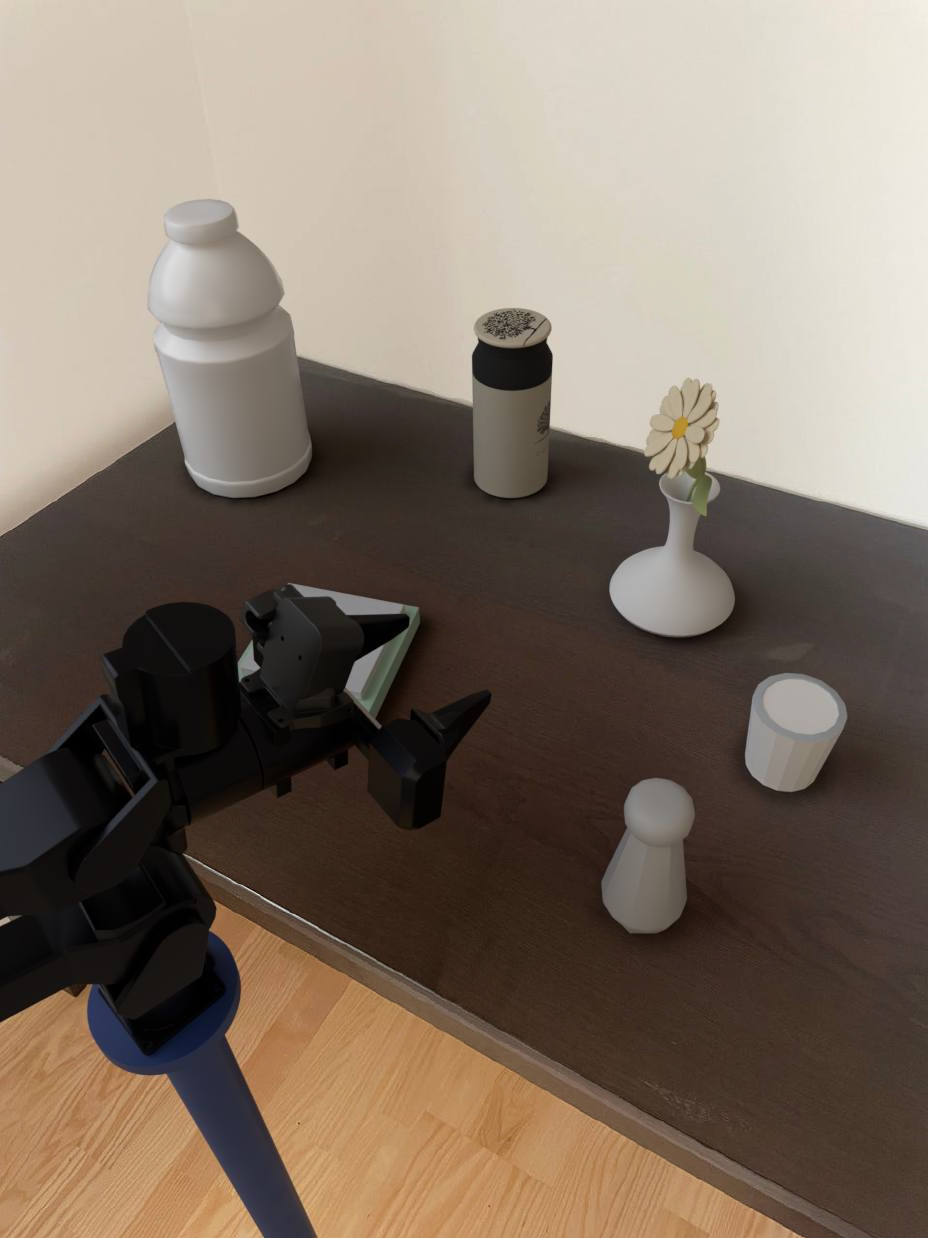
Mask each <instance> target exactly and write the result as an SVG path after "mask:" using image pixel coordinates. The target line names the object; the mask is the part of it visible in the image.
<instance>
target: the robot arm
mask: <svg viewBox="0 0 928 1238" xmlns="http://www.w3.org/2000/svg"><path fill="white" fill-rule="evenodd" d="M287 584H288V583H287ZM287 584H285V585H284V586H282V588H276V589H275V588H274V589H273V588H272V589H268V590H266V591H263V592H262V593H259V594H257V595H255V596H252V597H250V598H249V599H246V600H244V601H243V604H242V607H241V611H240V614H239V618H238V620H239V622H240V623H241V624H242V625H243V626H244V628H245V629H246V630H247V631H248V632H249V633H250V634H251V637H252V638H251V641H252V640H253V655H254V661H255V662H256V663H257V665H258V666H259V667H260V668H259V669H258V670H257V671H255V672H254V673H252V674H250V675H247V676H245V677H243V678H242V679H241V682H239V672H238V661H239V659H238V649H237V635H236V627H235V625H234V623H233V620H232V619H231V618H230V617H229V616H228V615H227V613H225V612H224V611H222V610H221V609H219V608H217V607H215V606H212V605H210V604H206V603H201V602H196V601H178V602H177V601H176V602H175V601H174V602H167V603H165V604H159V605H156V606H154V607H151V608H149V609H147V610H145V614H143V615H142V616H140V617H138V618H137V619H136V620H134V621H133V622H132V623H131V624H130V625H129V626H128V628H127V629H126V631H125V633H124V634H123V637H122V643H121V647H118V648H116V649H113V650H110V651H107V652H105V653H103V654H102V655H101V656H100V658H99V660H100V666H101V670H102V674H103V677H104V679H105V680H106V682H107V684H108V686H109V691H110V694H107V693H103V694H101V695H99V696H97V698H96V699H95V700H94V701H92V703H90V705H89V706H88V707H87V708H86V709H85V710H84V712H80V713H79V715H78V716H77V718H75V721H74V722H73V723H72V724H71V726H69V727H68V728H67V729H66V731H64V733H63V734H62V735H61V736H60V737H59V738H58V739H57V740H55V742H54V743H53V744H52V745H51V746H50V747H49V748H48V749H47V751H45V753H44V754H43V755H41V756H40V757H39V758H37V759H35V760H34V761H32V762H31V763H30V764H29V763H28V764H27V766H25V767H23V768H21V770H19V771H17V772H16V773H15V774H13V775H11V776H10V777H8V778H7V779H5V780H4V781H2V782H1V783H0V921H1V920H4V919H5V918H9V917H16V918H14V919H12V920H9V921H8V922H5V923H3V924H1V925H0V1023H3V1022H5V1021H6V1020H8V1019H10V1018H12V1017H14V1016H16V1015H18V1014H20V1013H22V1012H23V1011H25V1010H27V1009H29V1008H31V1007H33V1006H35V1005H36V1004H39V1003H41V1002H42V1001H44V1000H46V999H48V998H50V997H52V996H54V995H56V994H58V993H59V992H61V991H63V990H65V989H67V988H69V987H72V986H75V985H92V984H97V985H98V986H99V988H98V993H99V995H100V996H101V998H102V999H103V1000H104V1002H105V1003H106V1004H107V1006H108V1007H109V1008H110V1010H111V1011H112V1013H113V1014H114V1015H115V1017H116V1018H117V1019H118V1021H119V1022H120V1023H121V1025H122V1026H123V1028H124V1029H125V1030H126V1032H127V1033H128V1034H129V1036H130V1037H131V1038H132V1040H133V1041H134V1043H135V1044H136V1045H137V1047H138V1048H139V1049H140V1051H141V1052H142V1053H143V1054H144V1055H146V1056H149V1055H152V1054H153V1053H155V1052H156V1051H157V1050H158V1049H159V1048H161V1047H162V1046H163V1045H164V1044H165V1043H167V1042H168V1041H169V1040H170V1039H172V1038H173V1037H174V1036H175V1035H176V1034H178V1033H179V1032H180V1031H181V1030H182V1029H184V1028H185V1027H186V1026H187V1025H188V1024H190V1023H191V1022H192V1021H193V1020H195V1019H196V1018H197V1017H198V1016H199V1015H201V1014H202V1013H203V1012H204V1011H205V1010H207V1009H208V1008H209V1007H210V1006H211V1005H213V1004H214V1003H215V1002H216V1001H218V1000H219V999H220V998H221V997H222V996H223V995H224V994H225V992H226V987H225V985H224V983H223V982H222V981H221V980H220V978H219V977H218V976H217V975H216V974H215V972H214V971H213V970H212V968H214V967H215V964H216V961H215V958H214V956H213V954H212V951H211V949H210V947H209V944H208V938H209V931H210V929H211V928H212V925H213V924H214V922H215V920H216V917H217V906H216V903H215V901H214V899H213V897H212V896H211V894H210V893H209V891H208V890H207V888H206V887H205V885H204V884H203V882H202V881H201V879H200V878H199V876H198V874H197V873H196V872H195V870H194V868H193V867H192V865H191V864H190V862H189V861H188V859H187V858H186V856H185V855H184V853H186V851H188V840H187V839H188V838H187V833H186V828H187V827H190V826H191V825H194V824H195V823H198V822H200V821H202V820H205V819H206V818H208V817H211V816H213V815H214V814H217V813H219V812H220V811H223V810H225V809H227V808H229V807H231V806H233V805H236V804H238V803H240V802H242V801H244V800H246V799H248V798H251V797H252V796H255V795H256V794H259V793H261V792H262V791H265V790H267V789H269V790H270V792H272V794H273V795H274V796H275V798H277V799H279V798H281V797H283V796H286V795H288V794H289V793H292V789H293V788H292V777H295V776H296V775H299V774H301V773H303V772H305V771H307V770H310V769H311V768H314V767H315V766H318V765H320V764H323V763H324V762H327V764H328V765H330V767H331V768H332V769H333V770H334V771H336V770H338V769H341V768H343V767H345V766H346V765H349V750H351V749H353V748H354V747H356V748H357V749H358V750H359V752H360V753H361V754H362V755H363V756H364V757H365V758H366V760H367V761H368V765H367V766H368V767H367V788H366V789H367V790H366V791H367V793H368V794H369V796H371V797H372V798H373V800H374V801H375V802H376V803H377V804H378V806H379V807H380V808H381V809H382V810H383V811H384V813H385V814H386V815H387V816H388V817H389V818H390V819H391V821H392V822H393V823H394V824H395V825H396V826H397V827H398V828H399V829H403V830H407V831H415V830H420V829H422V828H423V827H426V826H427V825H429V824H431V823H433V822H434V821H437V820H438V819H440V818H441V817H442V810H443V809H442V808H443V800H444V790H445V782H446V773H447V764H448V761H449V760H450V757H452V754H453V753H454V751H455V750H456V749H457V747H458V746H459V745H460V743H461V742H462V741H463V740H464V738H465V737H466V736H467V734H468V733H469V732H470V730H471V729H472V728H473V726H474V725H475V723H477V721H478V720H479V718H480V717H481V716H482V715H483V713H484V712H485V711H486V709H487V708H488V706H489V705H490V704H491V701H492V691H490V690H489V689H488V688H485V689H483V690H480V691H476V692H473V693H471V694H468V695H465V696H464V697H462V698H460V699H458V700H455V701H453V702H451V703H449V704H447V705H445V706H442V707H441V708H439V709H436V710H433V711H432V712H425V711H423V710H420V709H418V708H415V707H412V708H410V712H409V713H410V714H409V719H408V718H407V719H406V718H402V717H401V718H400V717H397V718H394V719H393V720H390V721H388V722H386V723H384V724H380V723H379V721H378V720H377V719H376V718H374V717H373V716H372V715H371V714H370V713H369V712H368V711H367V710H366V709H365V708H364V707H363V706H362V704H361V703H360V702H359V701H358V700H357V699H356V698H355V697H354V696H353V695H352V694H351V693H350V692H349V691H348V690H347V688H346V684H347V681H348V679H349V676H350V673H351V671H352V668H353V665H354V663H355V661H357V660H359V659H361V658H362V657H364V656H366V655H367V654H369V653H371V652H372V651H374V650H376V649H377V648H379V647H381V646H382V645H384V644H386V643H387V642H389V641H391V640H392V639H394V638H395V637H396V636H398V635H399V634H400V633H402V632H403V631H405V630H406V629H407V628H408V627H409V623H410V617H409V616H408V615H407V614H369V615H346V614H345V613H344V612H343V611H342V610H341V609H340V608H339V607H338V606H337V605H336V601H335V600H334V599H332V598H331V597H329V596H321V597H304V596H303V595H302V594H301V593H300V592H299V591H298V590H297V589H296V588H295V587H294V586H293V585H291V584H288V585H287ZM104 751H106V753H107V754H108V756H109V758H110V759H111V761H112V763H113V764H114V765H115V767H114V766H113V764H112V763H111V761H109V759H108V758H107V757H106V756H105V754H103V753H104ZM115 768H117V770H118V771H119V774H120V775H121V777H122V778H123V779H124V781H125V782H126V784H127V785H128V787H129V788H130V790H131V792H132V793H133V796H132V794H131V792H130V791H129V789H128V788H127V786H126V785H125V783H124V781H123V780H122V778H121V777H120V775H119V774H118V772H117V771H116V769H115ZM217 988H221V990H220V991H219V992H215V990H216V989H217ZM149 1044H151V1045H152V1046H151V1048H150V1049H148V1050H146V1049H145V1048H146V1046H147V1045H149Z"/></svg>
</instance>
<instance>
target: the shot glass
mask: <svg viewBox="0 0 928 1238" xmlns="http://www.w3.org/2000/svg"><path fill="white" fill-rule="evenodd" d="M848 717H849V716H848V712H847V706H846V703H845V702H844V700H843V699H842V698H841V696H840V695H839V693H838V692H837V691H836V690H835V689H834V688H832V687H831V686H829V685H828V683H825V682H824V681H823V680H821V679H818V678H815V677H812V676H809V675H807V674H805V673H794V672H793V673H791V672H784V673H783V672H782V673H779V674H774V675H770V676H768V677H766V679H763V681H761V682H760V683H758V684H757V686H756V688H755V690H754V692H753V694H752V700H751V707H750V714H749V720H748V721H749V722H748V729H747V736H746V743H745V751H744V759H745V760H744V761H745V766H746V768H747V770H748V772H749V773H750V775H751V777H752V778H754V779H755V780H756V781H758V782H759V783H760V784H761V785H762V786H765V787H767V788H769V789H772V790H774V791H776V792H785V793H794V792H798V791H802V790H805V789H806V788H808V787H809V786H810V785H811V784H813V783H814V782H815V780H816V778H817V777H818V775H819V773H820V771H821V770H822V769H823V766H824V764H825V762H826V760H827V758H828V757H829V755H830V753H831V751H832V750H833V748H834V746H835V744H836V743H837V741H838V739H839V738H840V735H841V733H842V732H843V730H844V727H845V725H846V723H847V720H848Z"/></svg>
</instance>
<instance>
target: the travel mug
mask: <svg viewBox="0 0 928 1238" xmlns="http://www.w3.org/2000/svg"><path fill="white" fill-rule="evenodd" d="M552 330H553V329H552V323H551V321H550V320H549V319H548V318H547V317H546V316H545V315H544V314H542V313H540V312H539V311H535V310H532V309H528V308H527V309H526V308H522V307H506V308H505V307H504V308H498V309H494V310H491V311H488V312H485V313H484V314H482V315H480V316H479V317H478V318H477V319H476V321H475V322H474V325H473V332H474V334H475V336H476V337H477V344H476V346H475V348H474V350H473V351H472V354H471V383H472V384H471V385H472V386H471V387H472V430H473V431H472V433H473V434H472V436H473V437H472V439H473V440H472V441H473V442H472V443H473V480H474V482H475V484H476V485H477V486H478V488H479V489H480V490H481V491H483V492H485V493H487V494H489V495H491V496H494V497H499V498H505V499H518V498H524V497H527V496H530V495H533V494H535V493H537V492H538V491H540V490H542V488H543V487H544V486H545V485H546V483H547V481H548V471H549V451H550V431H551V428H550V427H551V407H552V386H553V385H552V383H553V363H554V362H553V361H554V360H553V359H554V355H553V351H552V350H551V348H550V345H549V344H548V338H549V336H550V334H551V332H552Z"/></svg>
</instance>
